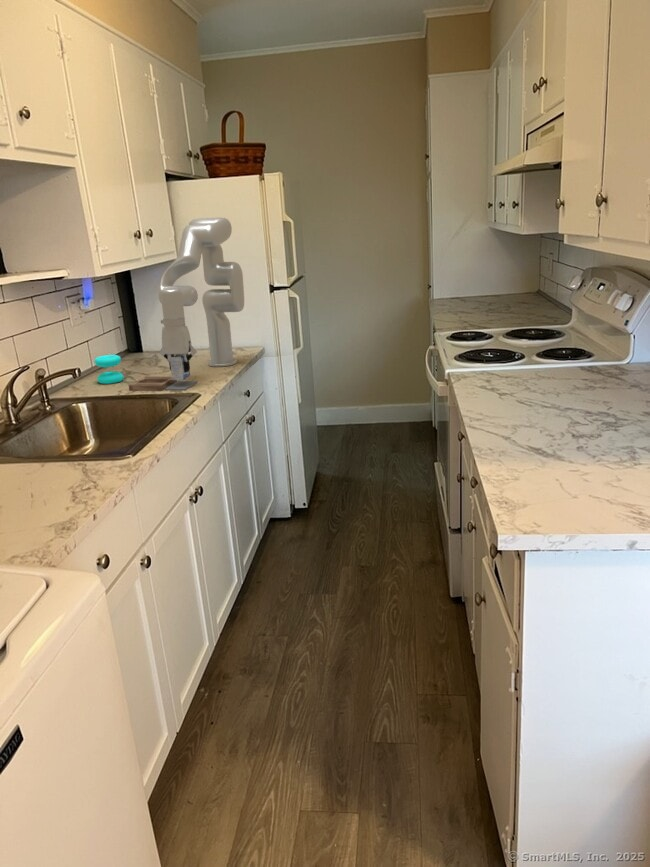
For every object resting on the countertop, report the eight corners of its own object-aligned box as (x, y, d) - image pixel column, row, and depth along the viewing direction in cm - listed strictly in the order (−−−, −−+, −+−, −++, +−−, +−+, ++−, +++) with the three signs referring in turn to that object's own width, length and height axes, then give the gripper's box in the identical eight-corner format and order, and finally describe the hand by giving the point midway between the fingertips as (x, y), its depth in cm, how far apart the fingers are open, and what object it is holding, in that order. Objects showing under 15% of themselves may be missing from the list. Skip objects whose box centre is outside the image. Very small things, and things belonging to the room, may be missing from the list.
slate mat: (178, 382, 251) (178, 380, 251) (197, 382, 250) (197, 380, 250) (165, 390, 240) (165, 388, 240) (185, 390, 239) (185, 388, 238)
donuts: (98, 360, 248) (90, 356, 256) (102, 386, 251) (94, 381, 259) (123, 356, 253) (115, 353, 261) (127, 381, 257) (119, 377, 264)
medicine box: (183, 380, 240) (180, 357, 238) (171, 380, 241) (169, 357, 238) (190, 375, 248) (188, 353, 245) (179, 375, 249) (177, 353, 246)
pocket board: (146, 381, 255) (145, 376, 255) (177, 381, 253) (176, 376, 252) (129, 390, 242) (128, 385, 242) (161, 390, 240) (160, 385, 239)
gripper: (148, 324, 236) (154, 373, 241) (192, 324, 232) (197, 374, 238) (157, 321, 243) (163, 369, 248) (200, 321, 239) (205, 369, 245)
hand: (180, 371), depth 243 cm, fingers closed on medicine box, 4 cm apart
